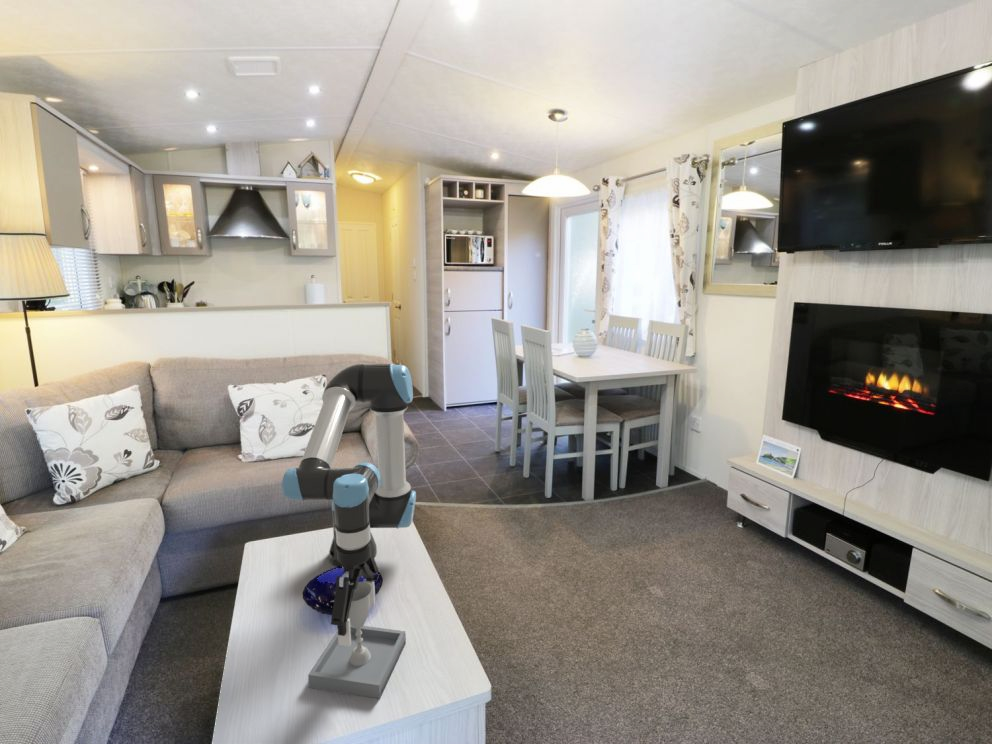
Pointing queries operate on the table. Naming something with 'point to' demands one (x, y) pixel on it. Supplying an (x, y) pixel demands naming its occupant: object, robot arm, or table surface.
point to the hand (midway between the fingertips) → (358, 623)
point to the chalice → (360, 621)
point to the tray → (364, 679)
